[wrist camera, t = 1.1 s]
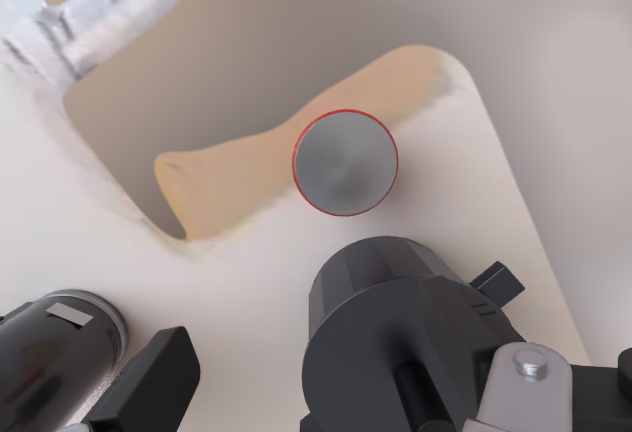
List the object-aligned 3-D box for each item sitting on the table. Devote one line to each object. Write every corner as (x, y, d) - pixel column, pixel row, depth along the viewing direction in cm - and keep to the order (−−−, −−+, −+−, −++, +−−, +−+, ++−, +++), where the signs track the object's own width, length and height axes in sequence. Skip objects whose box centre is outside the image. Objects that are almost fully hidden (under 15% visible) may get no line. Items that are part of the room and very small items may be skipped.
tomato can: (295, 185, 28) (288, 214, 18) (300, 113, 26) (295, 104, 17) (363, 190, 28) (391, 221, 19) (372, 119, 27) (407, 113, 17)
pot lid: (258, 366, 23) (242, 440, 17) (420, 224, 20) (460, 258, 15) (395, 477, 26) (418, 569, 20) (551, 364, 23) (625, 435, 18)
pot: (259, 322, 31) (241, 395, 23) (411, 183, 28) (456, 207, 19) (356, 403, 34) (372, 497, 25) (504, 286, 31) (580, 347, 22)
